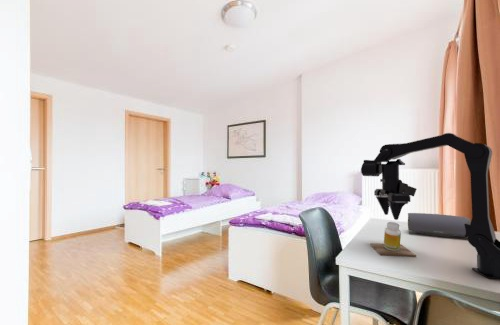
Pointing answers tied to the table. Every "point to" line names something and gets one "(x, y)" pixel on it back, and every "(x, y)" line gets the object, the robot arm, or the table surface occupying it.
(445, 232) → the bluetooth speaker
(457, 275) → the table surface
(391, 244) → the supplement bottle
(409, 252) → the walnut base
